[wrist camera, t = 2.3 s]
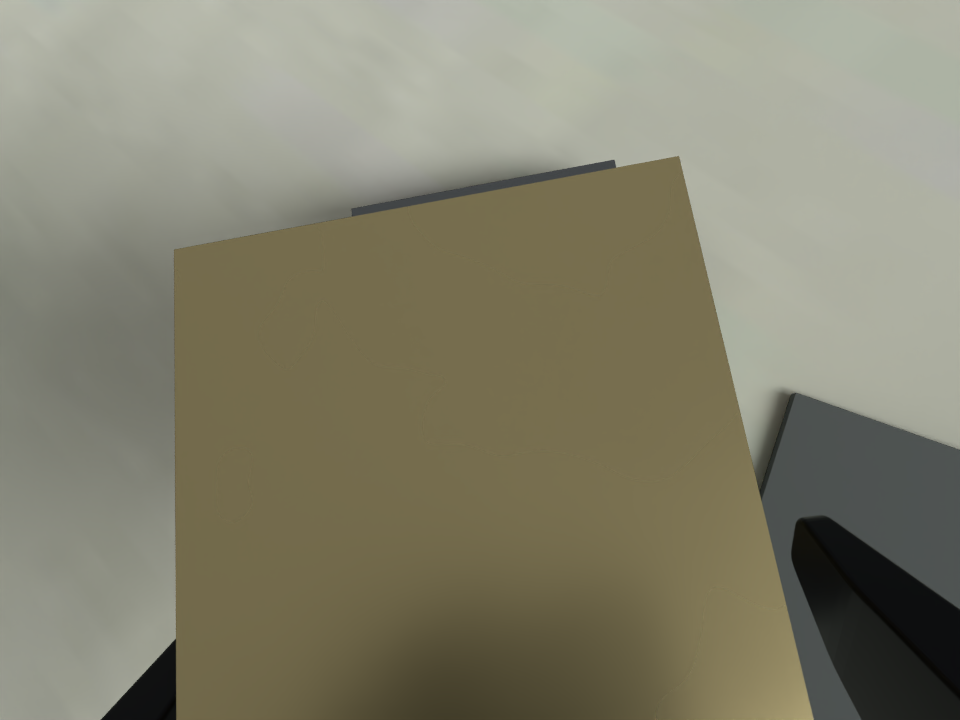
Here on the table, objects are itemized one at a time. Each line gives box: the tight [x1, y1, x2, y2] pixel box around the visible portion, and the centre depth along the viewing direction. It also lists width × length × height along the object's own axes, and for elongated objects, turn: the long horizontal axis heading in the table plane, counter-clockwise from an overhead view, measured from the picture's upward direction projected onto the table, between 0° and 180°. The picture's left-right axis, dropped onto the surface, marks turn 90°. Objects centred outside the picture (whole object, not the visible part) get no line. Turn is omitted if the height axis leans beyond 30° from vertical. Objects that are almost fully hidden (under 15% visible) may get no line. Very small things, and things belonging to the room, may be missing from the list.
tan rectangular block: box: [174, 156, 814, 720], centre depth 12 cm, size 5×5×15 cm
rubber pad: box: [760, 393, 960, 720], centre depth 17 cm, size 10×10×1 cm
